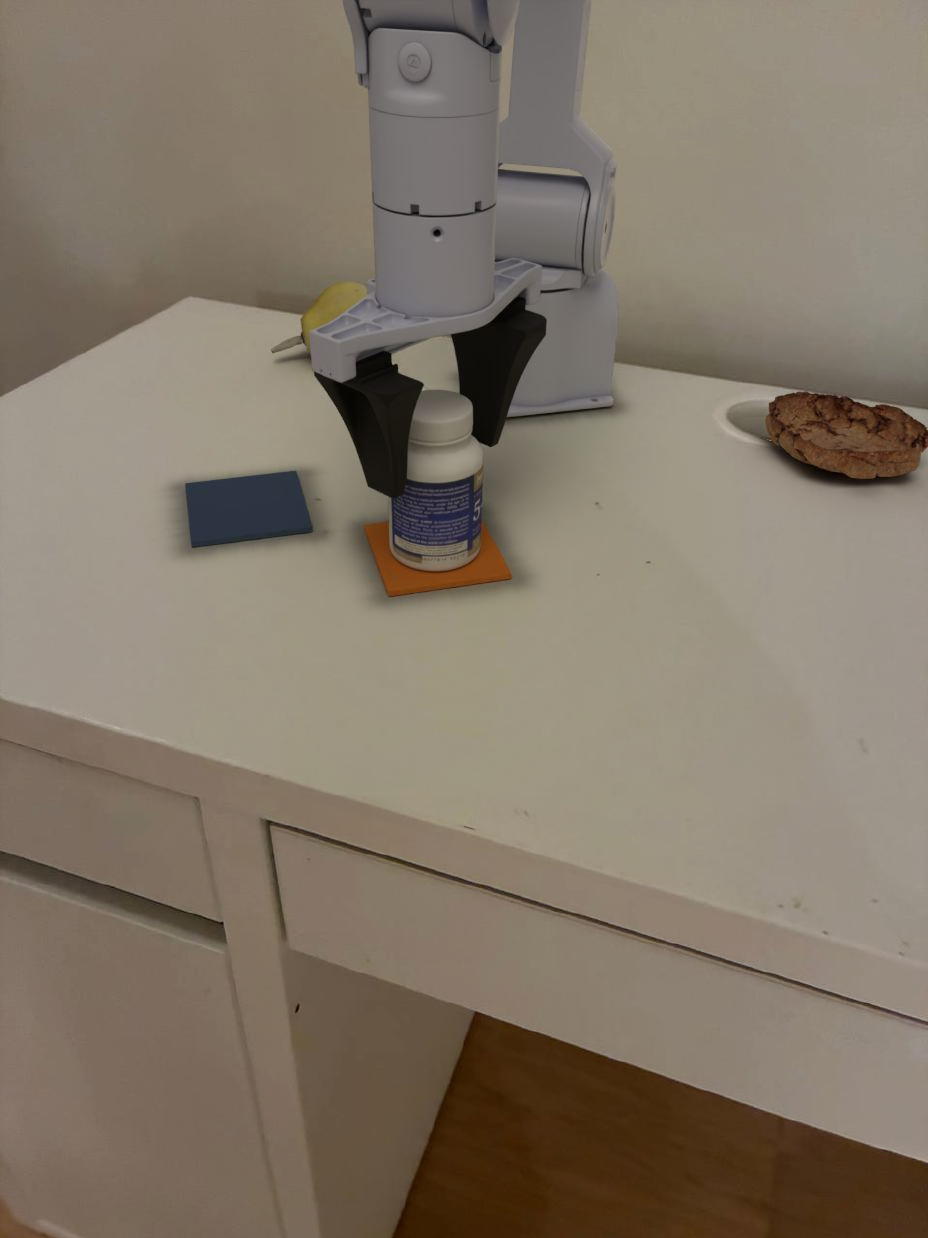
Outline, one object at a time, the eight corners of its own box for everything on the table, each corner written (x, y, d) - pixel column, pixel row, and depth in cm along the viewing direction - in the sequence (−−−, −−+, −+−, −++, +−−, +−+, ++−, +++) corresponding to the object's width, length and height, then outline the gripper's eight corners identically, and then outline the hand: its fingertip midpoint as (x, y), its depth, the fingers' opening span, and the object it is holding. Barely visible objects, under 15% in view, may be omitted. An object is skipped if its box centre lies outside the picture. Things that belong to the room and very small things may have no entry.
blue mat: (296, 475, 64) (296, 470, 64) (312, 532, 59) (312, 526, 58) (185, 488, 63) (184, 482, 62) (191, 547, 57) (190, 541, 57)
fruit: (263, 350, 80) (376, 315, 83) (291, 397, 77) (406, 359, 80) (252, 291, 76) (372, 256, 78) (281, 339, 73) (404, 300, 75)
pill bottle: (492, 566, 55) (498, 421, 50) (401, 580, 54) (398, 433, 49) (465, 518, 59) (468, 379, 54) (380, 530, 58) (374, 389, 53)
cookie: (736, 402, 67) (730, 442, 69) (857, 466, 60) (846, 509, 62) (841, 372, 71) (832, 410, 73) (966, 428, 64) (953, 469, 66)
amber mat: (476, 515, 61) (477, 509, 60) (511, 579, 55) (511, 573, 55) (364, 529, 59) (363, 524, 59) (388, 597, 54) (388, 591, 53)
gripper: (472, 158, 52) (467, 399, 60) (253, 214, 43) (283, 487, 51) (582, 183, 48) (561, 436, 56) (367, 249, 39) (379, 537, 48)
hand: (435, 463), depth 54 cm, fingers open, 7 cm apart
